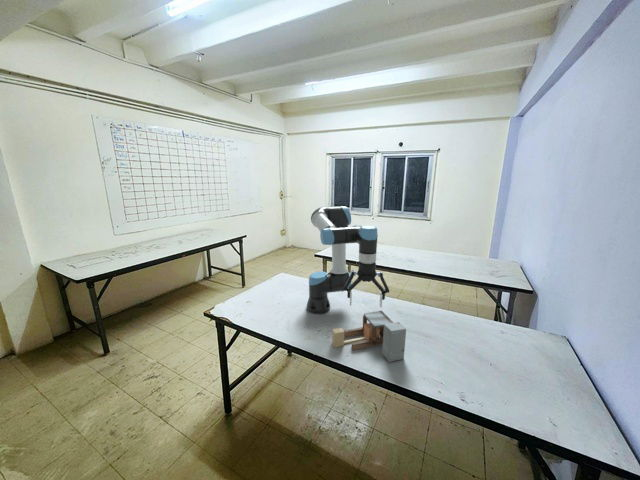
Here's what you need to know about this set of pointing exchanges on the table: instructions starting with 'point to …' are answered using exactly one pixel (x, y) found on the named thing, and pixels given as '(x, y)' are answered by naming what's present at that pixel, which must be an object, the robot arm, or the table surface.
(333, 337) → the tether block
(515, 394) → the table surface
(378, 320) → the shelf lane
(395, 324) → the skincare box
